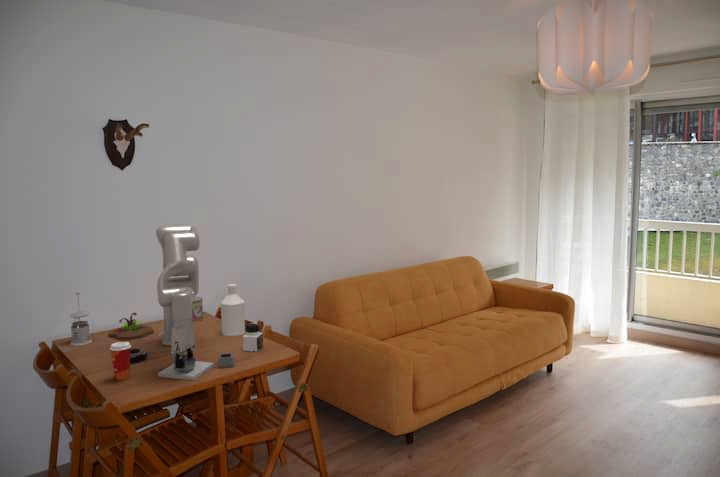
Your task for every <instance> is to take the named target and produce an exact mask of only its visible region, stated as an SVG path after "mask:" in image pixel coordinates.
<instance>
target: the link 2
mask: <svg viewBox="0 0 720 477" xmlns="http://www.w3.org/2000/svg"><path fill="white" fill-rule="evenodd" d="M217 359H218V360H217V362H218V363H217V364H218V368H223V369H224V368H233V367H234V362H235V361H234V360H235V359H234V352H230V353H226V352H225V353H219V354H218V357H217Z"/></svg>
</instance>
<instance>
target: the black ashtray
mask: <svg viewBox="0 0 720 477" xmlns="http://www.w3.org/2000/svg"><path fill="white" fill-rule="evenodd" d="M147 356H148V351H147V350H146V349H145V348H142V347H134V348H133V347H132V348H131V347H130V364H134V363H135V364H136V363H139V362H143V361H144V360H146V358H147Z"/></svg>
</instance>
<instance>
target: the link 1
mask: <svg viewBox="0 0 720 477" xmlns="http://www.w3.org/2000/svg"><path fill="white" fill-rule="evenodd" d="M195 361H196V357H195V356H193V357H188V356H187V361H183V368H176V364H175V359H174V360H173V364H174V370H176V371H185V372H188V371H189V370H191V369H192V368H194V367H195Z"/></svg>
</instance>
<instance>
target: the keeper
mask: <svg viewBox="0 0 720 477" xmlns="http://www.w3.org/2000/svg"><path fill="white" fill-rule="evenodd" d="M182 358H183V361H187V351H186V350H185V351H183V355H182ZM214 367H215V363H214V362H206V361H200V360H199V361H198V360H197V361H196V360H195V367H194V368H192V369H191V370H189V371H188V372H185V371H176V370H174V363H173V364H171V365H169V366H168V367H166V368H164V369H163V370H161V371H159V372H157V377H159V378H169V379H177V380H178V379H179V380H185V381H187V380H188V381H195V380H196V379H198V378H199V377H201V376H202V375H203V374H205V373H206V372H208V371H210V370H212V369H213V368H214Z"/></svg>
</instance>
